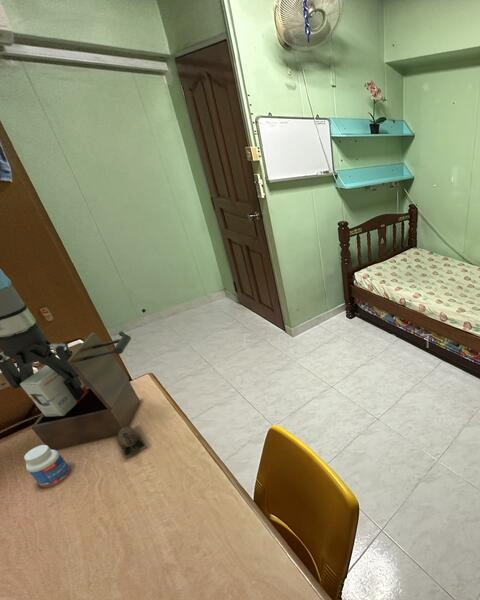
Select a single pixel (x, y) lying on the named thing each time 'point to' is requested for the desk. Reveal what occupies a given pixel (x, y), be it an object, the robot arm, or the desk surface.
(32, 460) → the pill bottle
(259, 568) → the desk surface
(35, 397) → the ink box
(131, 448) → the figurine
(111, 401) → the lid
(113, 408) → the chest
